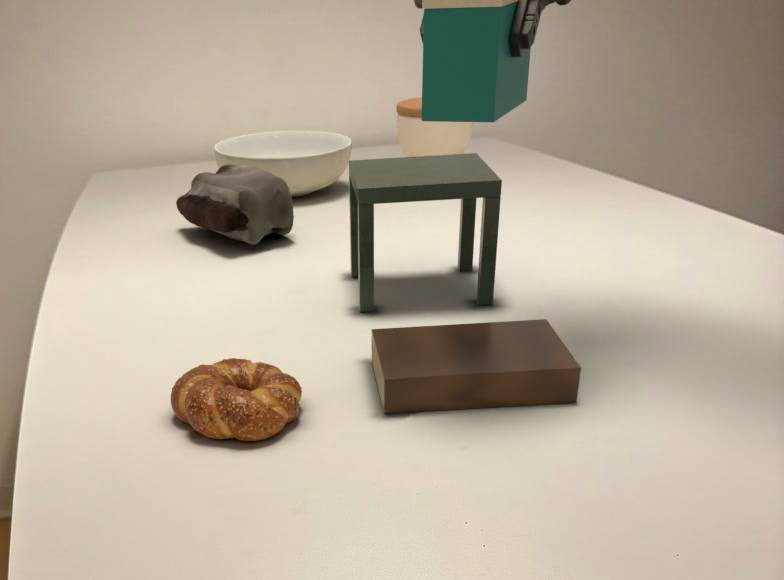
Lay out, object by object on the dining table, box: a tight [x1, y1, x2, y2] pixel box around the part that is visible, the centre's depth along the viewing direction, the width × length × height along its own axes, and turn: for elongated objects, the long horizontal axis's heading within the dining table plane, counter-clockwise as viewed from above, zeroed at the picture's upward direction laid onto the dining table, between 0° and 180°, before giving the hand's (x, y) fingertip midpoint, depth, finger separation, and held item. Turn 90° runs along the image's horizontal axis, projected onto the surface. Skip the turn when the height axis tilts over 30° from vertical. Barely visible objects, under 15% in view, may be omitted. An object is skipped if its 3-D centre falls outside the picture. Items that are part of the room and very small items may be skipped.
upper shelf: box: [348, 152, 503, 313], centre depth 101 cm, size 14×14×12 cm
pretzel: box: [170, 357, 303, 442], centre depth 78 cm, size 12×11×4 cm
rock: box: [175, 165, 295, 246], centre depth 124 cm, size 18×11×8 cm, turn 31°
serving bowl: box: [213, 130, 353, 198], centre depth 144 cm, size 21×21×7 cm
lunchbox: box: [421, 0, 532, 123], centre depth 70 cm, size 10×6×8 cm, turn 156°
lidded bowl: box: [395, 96, 474, 157], centre depth 154 cm, size 13×13×11 cm
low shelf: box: [371, 318, 582, 414], centre depth 82 cm, size 16×12×3 cm
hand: (473, 48), depth 69 cm, fingers closed on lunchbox, 5 cm apart
